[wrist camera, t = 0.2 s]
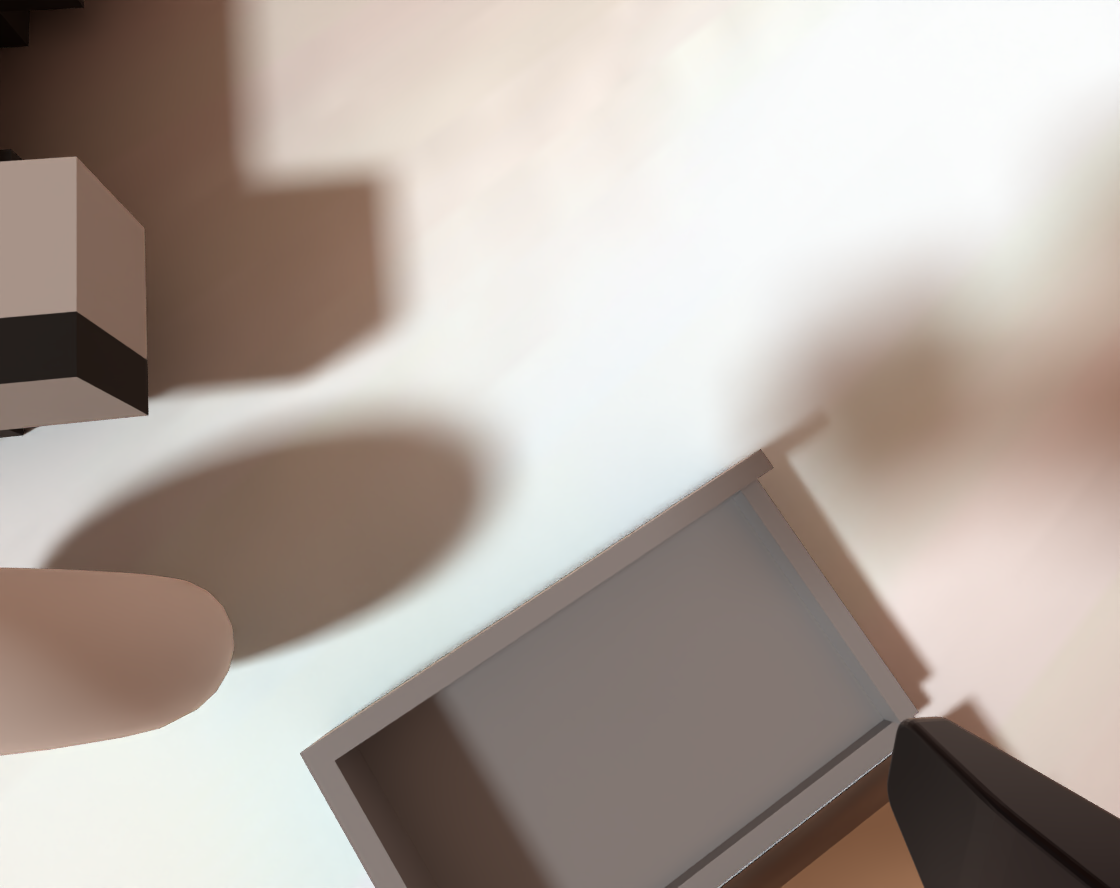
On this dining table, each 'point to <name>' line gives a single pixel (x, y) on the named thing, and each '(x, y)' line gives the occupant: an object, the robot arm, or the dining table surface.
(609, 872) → the box
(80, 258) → the game console
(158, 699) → the donut
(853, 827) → the walnut board
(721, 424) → the dining table surface
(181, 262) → the dining table surface
